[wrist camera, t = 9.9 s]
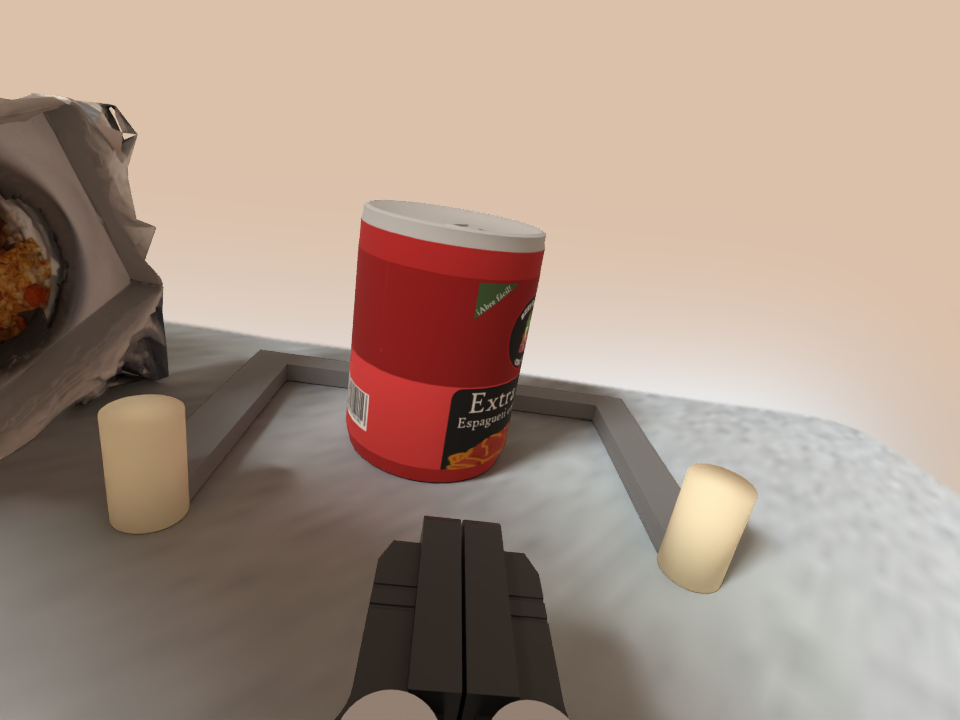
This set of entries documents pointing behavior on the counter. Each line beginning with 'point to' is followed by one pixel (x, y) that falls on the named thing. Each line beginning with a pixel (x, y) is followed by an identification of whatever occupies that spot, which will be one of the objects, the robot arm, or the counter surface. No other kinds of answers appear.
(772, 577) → the counter surface
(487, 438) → the canned food
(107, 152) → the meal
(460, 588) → the robot arm
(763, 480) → the counter surface
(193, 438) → the frame
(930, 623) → the counter surface
